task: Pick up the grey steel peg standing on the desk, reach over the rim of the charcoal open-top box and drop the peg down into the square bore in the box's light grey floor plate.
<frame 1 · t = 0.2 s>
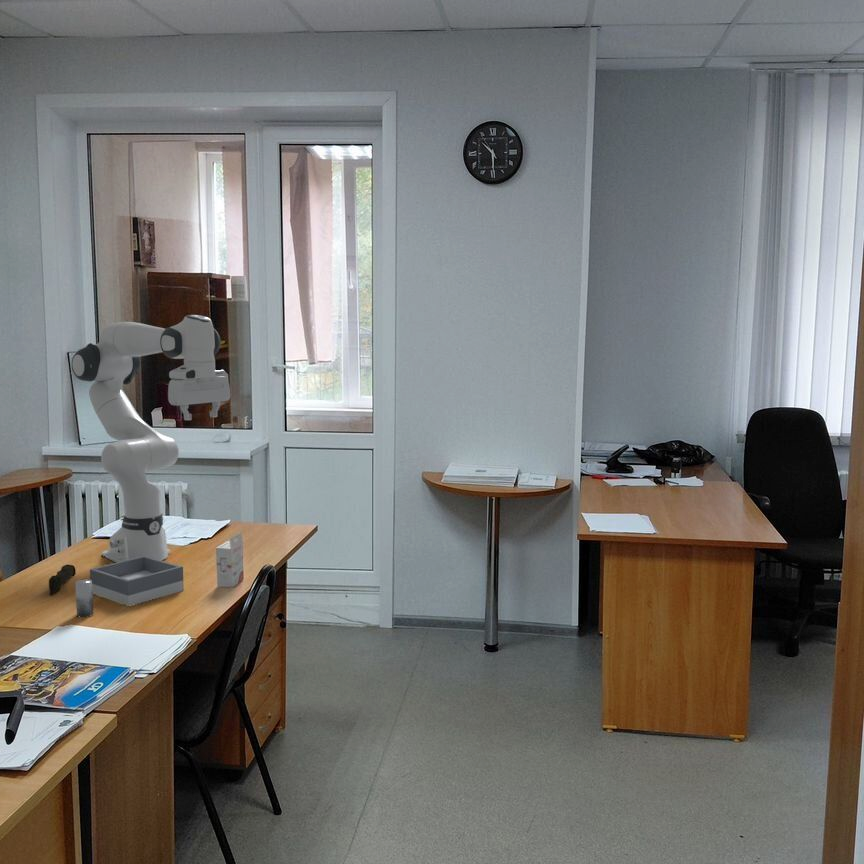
hand: (200, 418, 264), 48 cm above the table, tool pointing down, fingers open, 8 cm apart
hand tool: (62, 587, 261), on the table
bore box: (137, 591, 256), on the table
ink cartridge box: (230, 583, 265), on the table
peg: (85, 615, 236), on the table
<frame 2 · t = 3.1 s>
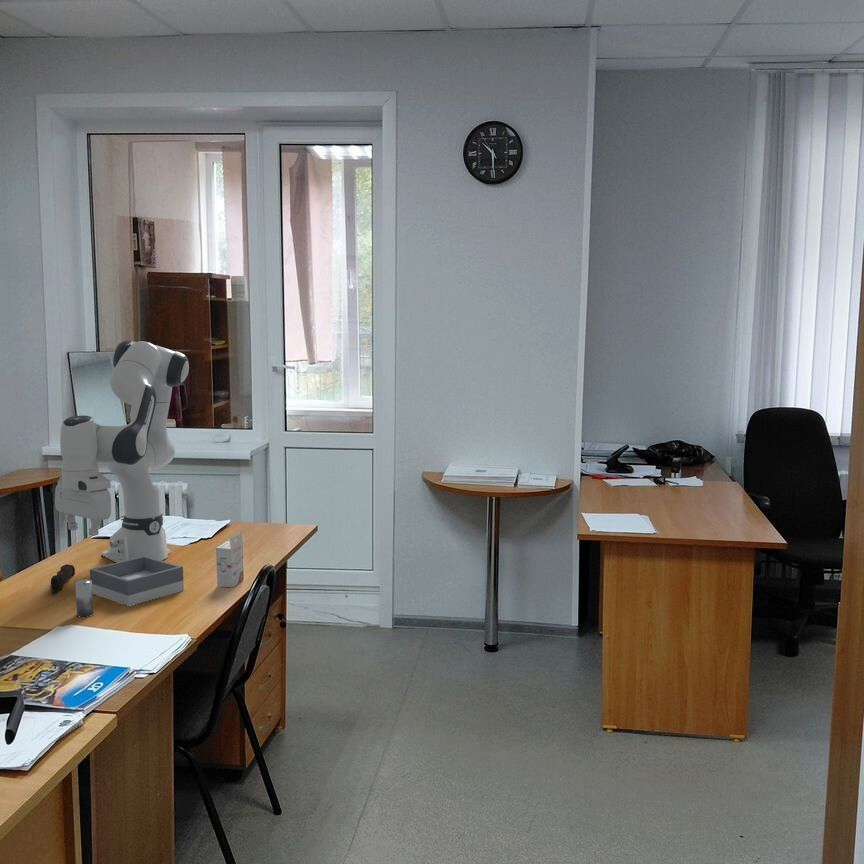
hand: (83, 532, 233), 22 cm above the table, tool pointing down, fingers open, 8 cm apart
nothing on the table moved.
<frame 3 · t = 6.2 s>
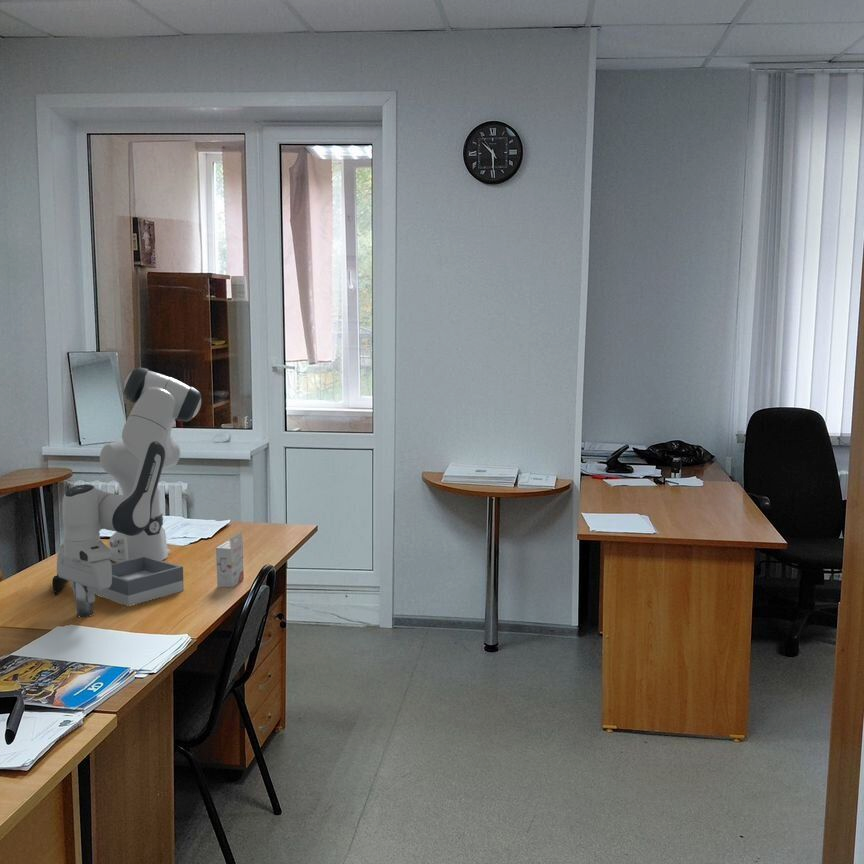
hand: (84, 599, 236), 4 cm above the table, tool pointing down, fingers closed on peg, 4 cm apart
peg: (85, 615, 236), on the table, touching gripper
everything else where it was.
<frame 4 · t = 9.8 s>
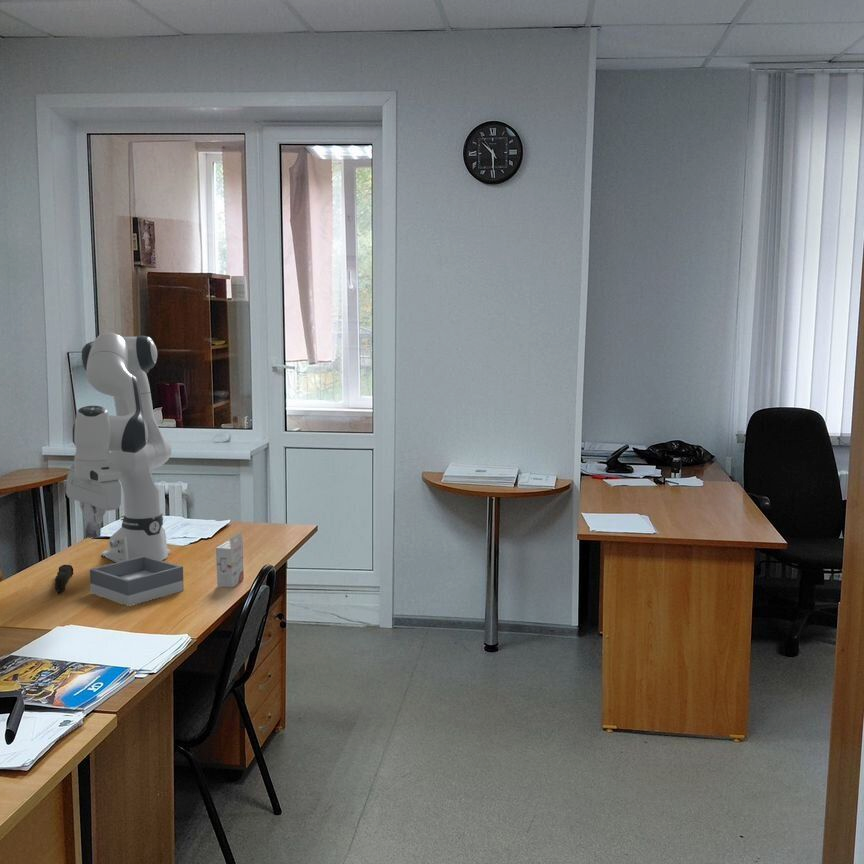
hand: (92, 520, 237), 24 cm above the table, tool pointing down, fingers closed on peg, 4 cm apart
peg: (92, 535, 238), point 20 cm above the table, touching gripper
everything else where it was.
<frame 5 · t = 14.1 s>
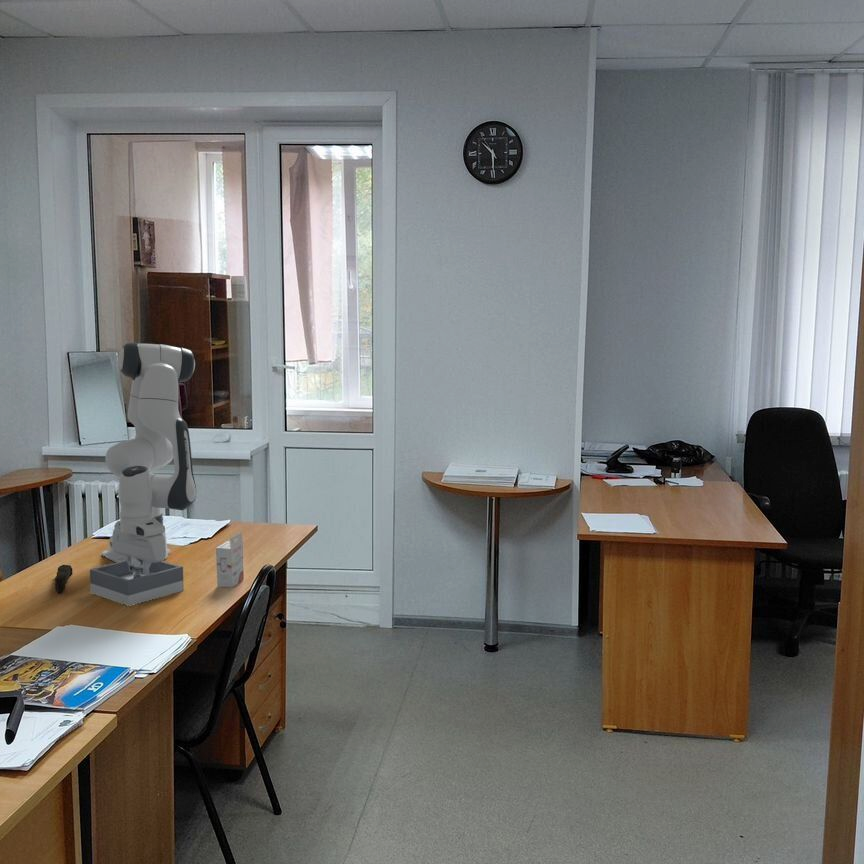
hand: (139, 572, 255), 6 cm above the table, tool pointing down, fingers closed on peg, 4 cm apart
peg: (141, 582, 255), point 3 cm above the table, tilted 5°, touching bore box, gripper
everything else where it was.
when the fingers open (5 cm above the table, at t = 14.9 s): peg drops 2 cm, resting in bore box.
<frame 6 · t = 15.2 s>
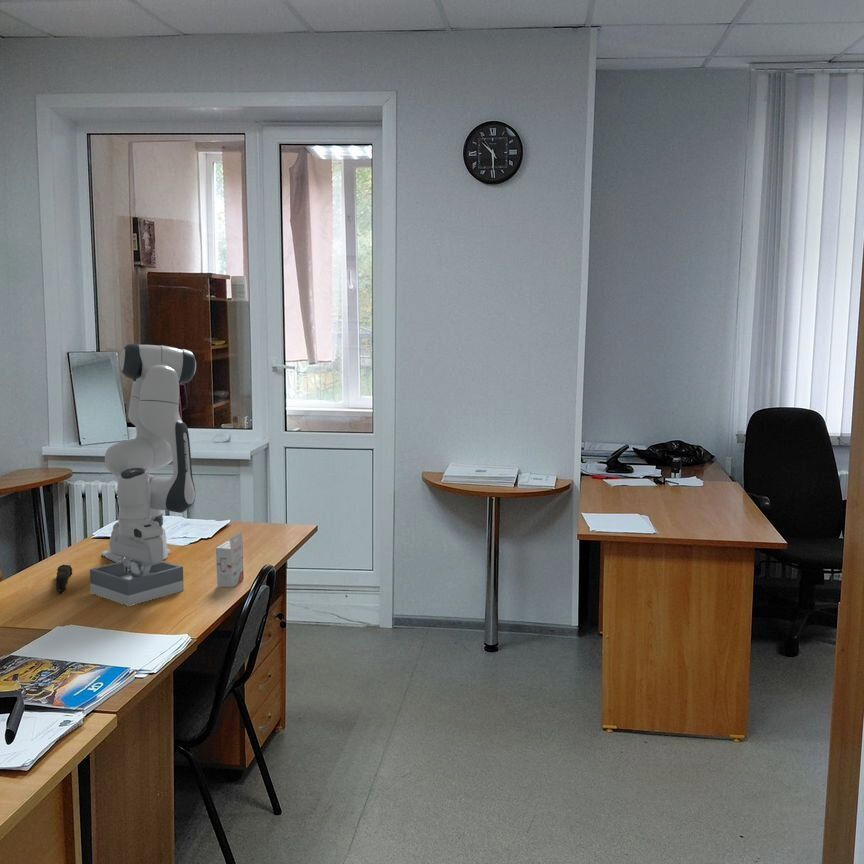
hand: (136, 574, 255), 5 cm above the table, tool pointing down, fingers open, 6 cm apart
peg: (140, 591, 256), resting in bore box
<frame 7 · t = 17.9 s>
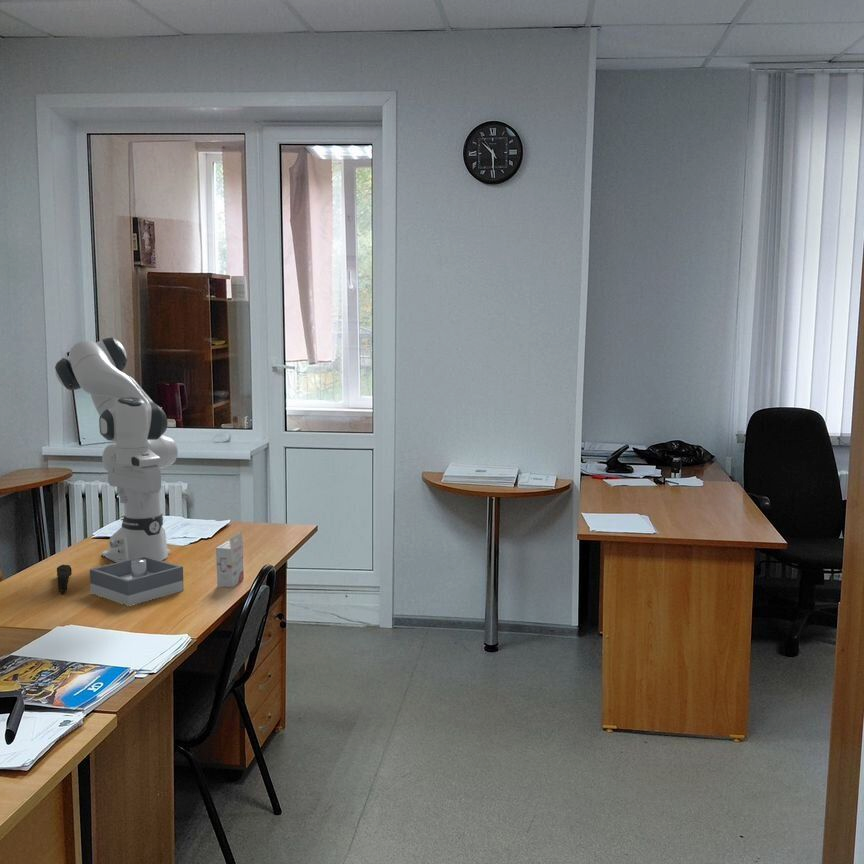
hand: (134, 505, 252), 25 cm above the table, tool pointing down, fingers open, 8 cm apart
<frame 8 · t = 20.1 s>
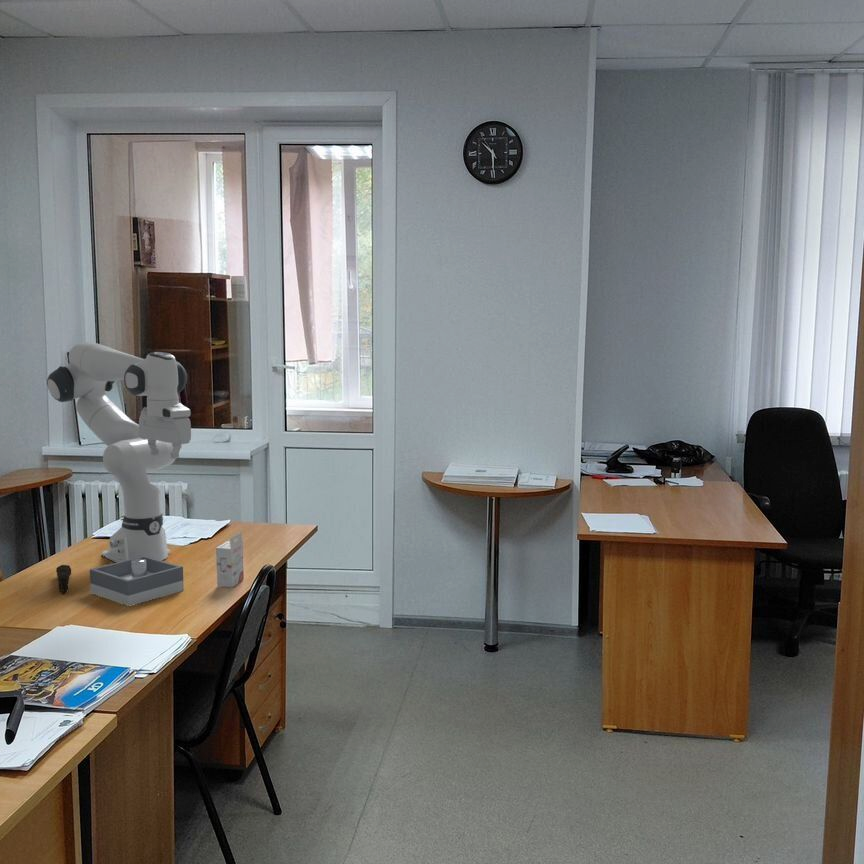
hand: (164, 456, 261), 37 cm above the table, tool pointing down, fingers open, 8 cm apart
at the end: peg 0.7 cm off-centre on the bore box, point 0.0 cm above the bore box's base; peg tilted 1°; the gripper is holding nothing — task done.
